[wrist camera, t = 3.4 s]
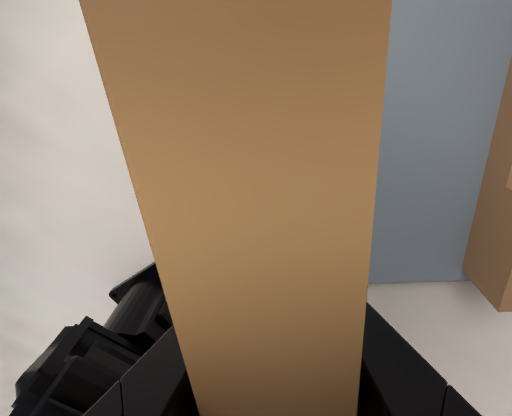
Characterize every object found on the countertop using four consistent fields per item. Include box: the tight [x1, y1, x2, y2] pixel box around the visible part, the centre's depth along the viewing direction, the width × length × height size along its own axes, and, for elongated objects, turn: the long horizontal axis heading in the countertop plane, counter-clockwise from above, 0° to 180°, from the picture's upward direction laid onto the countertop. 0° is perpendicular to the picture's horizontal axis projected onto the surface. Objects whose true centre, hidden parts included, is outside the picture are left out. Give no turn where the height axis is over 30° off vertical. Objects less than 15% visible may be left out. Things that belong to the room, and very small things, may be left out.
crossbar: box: [79, 0, 392, 416], centre depth 8 cm, size 14×2×8 cm, turn 5°
